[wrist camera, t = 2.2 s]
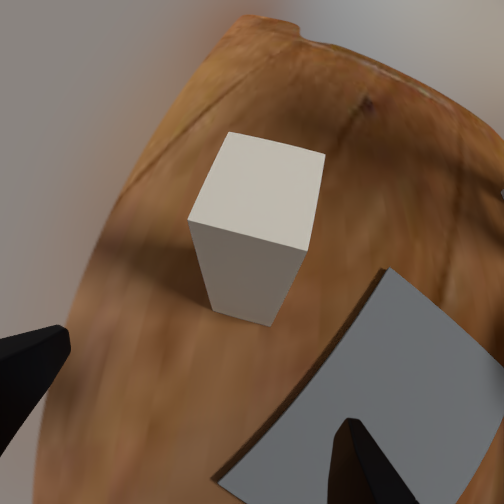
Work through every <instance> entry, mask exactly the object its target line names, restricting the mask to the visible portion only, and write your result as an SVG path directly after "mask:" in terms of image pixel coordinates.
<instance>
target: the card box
mask: <svg viewBox="0 0 504 504" xmlns="http://www.w3.org/2000/svg"><path fill="white" fill-rule="evenodd" d="M324 160H325V154H322V153H319V152H315V151H311V150H307V149H304V148H300V147H296V146H292V145H288V144H284V143H279V142H275V141H271V140H266V139H262V138H257V137H253V136H248V135H243V134H238V133H233V132H228V134H227V136H226V138H225V140H224V142H223V144H222V146H221V148H220V150H219V152H218V155H217V157H216V159H215V161H214V163H213V165H212V167H211V169H210V171H209V173H208V175H207V178H206V180H205V182H204V184H203V186H202V188H201V191H200V193H199V195H198V197H197V199H196V202H195V204H194V206H193V208H192V211H191V213H190V215H189V217H188V224H189V228H190V232H191V236H192V239H193V243H194V247H195V250H196V254H197V258H198V261H199V265H200V269H201V272H202V276H203V279H204V283H205V286H206V290H207V293H208V296H209V300H210V303H211V306H212V310H213V311H215V312H218V313H222V314H225V315H229V316H232V317H236V318H239V319H243V320H247V321H250V322H254V323H258V324H261V325H265V326H269V327H271V325H272V323H273V321H274V319H275V317H276V315H277V313H278V311H279V309H280V307H281V305H282V303H283V301H284V299H285V297H286V295H287V293H288V291H289V289H290V287H291V285H292V283H293V281H294V278H295V276H296V274H297V272H298V270H299V268H300V266H301V264H302V262H303V260H304V258H305V255H306V253H307V251H308V246H309V242H310V237H311V232H312V227H313V221H314V216H315V211H316V206H317V200H318V195H319V189H320V184H321V178H322V172H323V166H324Z"/></svg>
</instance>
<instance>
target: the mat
mask: <svg viewBox="0 0 504 504" xmlns="http://www.w3.org/2000/svg"><path fill="white" fill-rule="evenodd" d="M503 416H504V368H503V367H502V366H501V365H500V364H499V363H498V362H497V361H496V360H495V359H494V358H493V357H492V356H491V355H490V354H489V353H488V352H487V351H486V350H485V349H484V348H483V347H481V346H480V345H479V344H478V343H477V342H476V341H475V340H474V339H473V338H472V337H471V336H470V335H469V334H468V333H466V332H465V331H464V330H463V329H462V328H461V327H460V326H459V325H458V324H456V323H455V322H454V321H453V320H452V319H451V318H450V317H449V316H447V315H446V314H445V313H444V312H443V311H442V310H441V309H439V308H438V307H437V306H436V305H435V304H434V303H433V302H431V301H430V300H429V299H428V298H427V297H426V296H424V295H423V294H422V293H421V292H420V291H418V290H417V289H416V288H415V287H414V286H412V285H411V284H410V283H409V282H408V281H406V280H405V279H404V278H403V277H401V276H400V275H399V274H398V273H396V272H395V271H394V270H393V269H391V268H390V267H389V268H388V269H387V270H386V272H385V273H384V275H383V276H382V278H381V280H380V281H379V283H378V285H377V286H376V288H375V289H374V291H373V293H372V294H371V296H370V297H369V299H368V300H367V302H366V303H365V305H364V306H363V308H362V309H361V311H360V312H359V314H358V315H357V317H356V318H355V320H354V321H353V323H352V324H351V326H350V327H349V329H348V330H347V331H346V333H345V334H344V336H343V337H342V339H341V340H340V341H339V343H338V344H337V346H336V347H335V348H334V350H333V351H332V352H331V354H330V355H329V356H328V358H327V359H326V360H325V362H324V363H323V364H322V366H321V367H320V368H319V370H318V371H317V372H316V373H315V375H314V376H313V377H312V379H311V380H310V381H309V382H308V384H307V385H306V386H305V387H304V389H303V390H302V391H301V392H300V394H299V395H298V396H297V397H296V398H295V400H294V401H293V402H292V403H291V404H290V406H289V407H288V408H287V409H286V410H285V411H284V413H283V414H282V415H281V416H280V417H279V418H278V419H277V421H276V422H275V423H274V424H273V425H272V426H271V427H270V428H269V430H268V431H267V432H266V433H265V434H264V435H263V436H262V437H261V438H260V439H259V440H258V442H257V443H256V444H255V445H254V446H253V447H252V448H251V449H250V450H249V451H248V452H247V453H246V454H245V455H244V456H243V457H242V458H241V459H240V460H239V461H238V462H237V463H236V464H235V465H234V466H233V467H232V468H231V469H230V470H229V471H228V472H227V473H226V474H225V475H224V476H223V477H222V478H221V479H220V480H219V481H218V484H219V485H221V486H222V487H223V488H225V489H226V490H228V491H229V492H231V493H232V494H234V495H235V496H236V497H238V498H239V499H241V500H242V501H244V502H246V503H247V504H327V488H328V476H329V469H330V462H331V455H332V447H333V439H334V436H335V433H336V432H337V430H338V429H339V427H340V426H341V424H342V423H343V421H344V420H345V419H346V418H348V417H350V418H357V419H360V420H361V421H362V423H363V424H364V426H365V427H366V428H367V430H368V431H369V433H370V434H371V436H372V437H373V438H374V440H375V441H376V443H377V444H378V446H379V447H380V448H381V450H382V451H383V453H384V454H385V455H386V457H387V458H388V460H389V461H390V462H391V464H392V465H393V467H394V468H395V470H396V471H397V472H398V474H399V475H400V477H401V478H402V479H403V481H404V482H405V484H406V485H407V486H408V488H409V489H410V491H411V492H412V493H413V495H414V496H415V498H416V500H418V502H419V503H420V504H455V503H456V502H457V500H458V499H459V497H460V496H461V494H462V493H463V491H464V490H465V488H466V487H467V485H468V483H469V482H470V480H471V478H472V477H473V475H474V473H475V472H476V470H477V468H478V467H479V465H480V463H481V461H482V459H483V458H484V456H485V454H486V452H487V450H488V448H489V446H490V444H491V442H492V440H493V438H494V436H495V434H496V432H497V430H498V427H499V425H500V423H501V421H502V418H503Z"/></svg>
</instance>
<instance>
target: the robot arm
mask: <svg viewBox="0 0 504 504" xmlns="http://www.w3.org/2000/svg"><path fill="white" fill-rule="evenodd" d="M70 352H71V344H70V338H69V332H68V330H67V329H66V328H64V327H62V326H60V325H54V326H49V327H46V328H42V329H38V330H34V331H30V332H26V333H22V334H18V335H14V336H10V337H6V338H2V339H0V457H1V455H2V454H3V452H4V451H5V449H6V447H7V446H8V445H9V443H10V441H11V440H12V439H13V437H14V436H15V434H16V433H17V431H18V430H19V428H20V427H21V426H22V424H23V423H24V421H25V420H26V419H27V417H28V416H29V414H30V413H31V412H32V410H33V409H34V407H35V406H36V405H37V403H38V402H39V401H40V399H41V398H42V397H43V395H44V394H45V393H46V391H47V390H48V388H49V387H50V385H51V384H52V382H53V381H54V379H55V377H56V376H57V374H58V372H59V371H60V369H61V367H62V366H63V364H64V363H65V361H66V359H67V358H68V356H69V354H70ZM327 504H420V503H419V502H418V500H416V498H415V496H414V495H413V493H412V492H411V491H410V489H409V488H408V486H407V485H406V484H405V482H404V481H403V479H402V478H401V477H400V475H399V474H398V472H397V471H396V470H395V468H394V467H393V465H392V464H391V462H390V461H389V460H388V458H387V457H386V455H385V454H384V453H383V451H382V450H381V448H380V447H379V446H378V444H377V443H376V441H375V440H374V438H373V437H372V436H371V434H370V433H369V431H368V430H367V428H366V427H365V426H364V424H363V423H362V421H361V420H360V419H357V418H350V417H348V418H346V419H345V420H344V421H343V423H342V424H341V426H340V427H339V429H338V430H337V432H336V433H335V436H334V439H333V447H332V455H331V462H330V469H329V476H328V488H327Z"/></svg>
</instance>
